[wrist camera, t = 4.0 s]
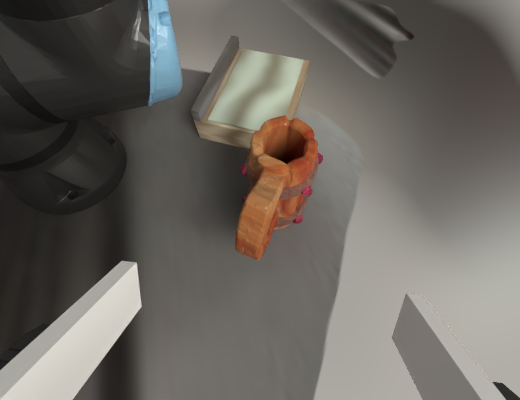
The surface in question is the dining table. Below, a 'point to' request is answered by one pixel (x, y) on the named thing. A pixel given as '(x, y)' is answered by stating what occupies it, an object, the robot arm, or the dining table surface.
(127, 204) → the dining table surface
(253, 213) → the mug
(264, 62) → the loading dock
